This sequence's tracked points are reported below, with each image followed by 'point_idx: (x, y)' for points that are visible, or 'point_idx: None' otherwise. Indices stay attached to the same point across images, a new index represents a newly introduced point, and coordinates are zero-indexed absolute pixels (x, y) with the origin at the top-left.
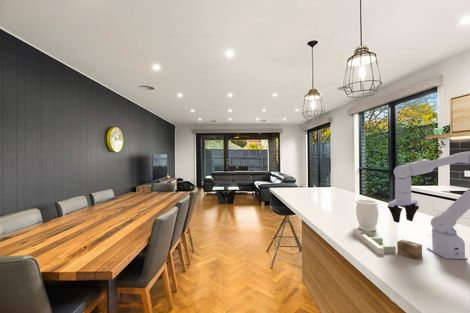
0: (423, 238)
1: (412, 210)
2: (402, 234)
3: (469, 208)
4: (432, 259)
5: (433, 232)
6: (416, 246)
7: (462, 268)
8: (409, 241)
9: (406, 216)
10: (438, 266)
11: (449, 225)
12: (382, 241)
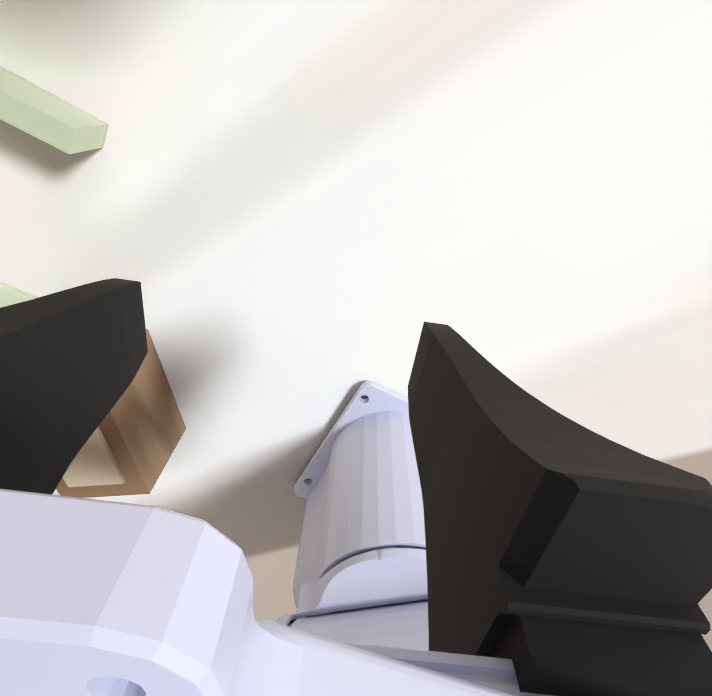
0: (632, 246)
1: (433, 565)
2: (609, 48)
3: None
4: (215, 462)
5: (329, 550)
6: (77, 492)
7: (252, 548)
8: (115, 428)
9: (437, 344)
10: (159, 505)
11: None
12: (89, 148)
